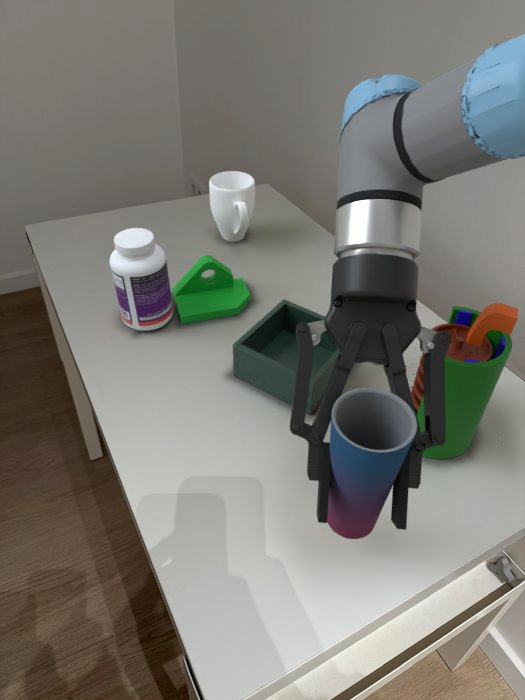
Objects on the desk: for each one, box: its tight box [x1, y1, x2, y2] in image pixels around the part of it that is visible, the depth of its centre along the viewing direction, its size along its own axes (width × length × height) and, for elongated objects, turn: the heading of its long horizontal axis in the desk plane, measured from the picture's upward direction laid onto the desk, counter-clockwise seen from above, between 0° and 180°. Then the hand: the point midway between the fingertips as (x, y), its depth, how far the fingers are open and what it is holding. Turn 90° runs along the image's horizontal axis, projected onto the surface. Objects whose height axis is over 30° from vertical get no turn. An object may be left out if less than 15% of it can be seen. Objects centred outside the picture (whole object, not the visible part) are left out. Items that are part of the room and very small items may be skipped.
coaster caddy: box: [410, 302, 519, 460], centre depth 60 cm, size 10×9×20 cm
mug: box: [208, 170, 256, 242], centre depth 96 cm, size 12×8×11 cm
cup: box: [326, 387, 417, 540], centre depth 46 cm, size 7×7×15 cm
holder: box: [232, 299, 340, 416], centre depth 72 cm, size 13×13×6 cm
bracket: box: [171, 254, 251, 325], centre depth 82 cm, size 12×8×7 cm, turn 107°
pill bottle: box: [109, 227, 174, 332], centre depth 77 cm, size 8×8×14 cm
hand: (359, 521), depth 45 cm, fingers closed on cup, 6 cm apart
